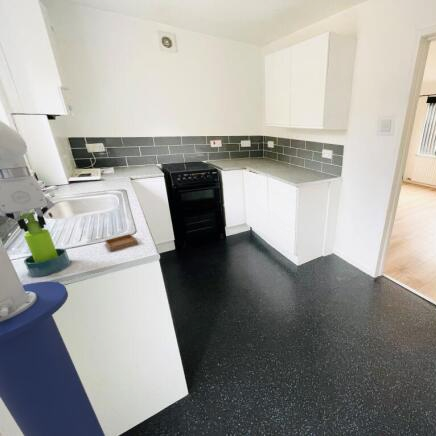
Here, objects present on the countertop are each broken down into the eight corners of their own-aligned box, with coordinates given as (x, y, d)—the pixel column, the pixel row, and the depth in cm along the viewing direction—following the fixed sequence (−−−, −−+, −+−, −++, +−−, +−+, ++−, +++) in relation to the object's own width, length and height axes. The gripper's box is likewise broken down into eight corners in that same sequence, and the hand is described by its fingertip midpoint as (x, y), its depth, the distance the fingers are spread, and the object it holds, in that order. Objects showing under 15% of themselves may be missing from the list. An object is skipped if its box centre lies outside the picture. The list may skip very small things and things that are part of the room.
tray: (137, 244, 104) (136, 240, 103) (110, 251, 97) (109, 247, 97) (131, 237, 110) (130, 233, 109) (106, 244, 104) (104, 240, 103)
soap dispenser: (33, 274, 82) (9, 218, 75) (43, 264, 88) (21, 211, 81) (55, 270, 84) (34, 215, 77) (63, 261, 90) (44, 209, 83)
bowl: (71, 267, 86) (67, 255, 84) (29, 280, 79) (23, 267, 77) (69, 257, 93) (64, 245, 92) (29, 268, 86) (24, 255, 85)
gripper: (-33, 179, 67) (-4, 239, 73) (49, 171, 78) (68, 225, 84) (-28, 175, 72) (-2, 233, 78) (48, 169, 83) (66, 219, 89)
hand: (34, 228), depth 81 cm, fingers closed on soap dispenser, 3 cm apart
